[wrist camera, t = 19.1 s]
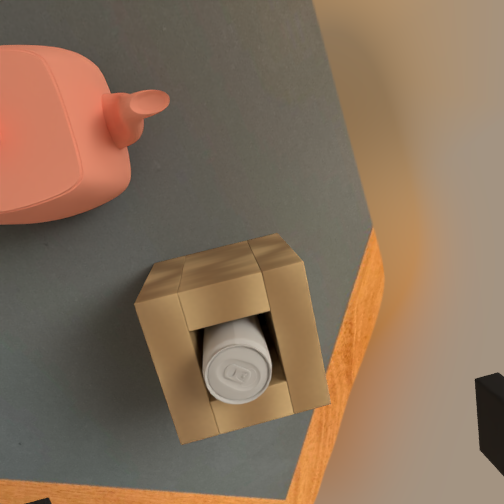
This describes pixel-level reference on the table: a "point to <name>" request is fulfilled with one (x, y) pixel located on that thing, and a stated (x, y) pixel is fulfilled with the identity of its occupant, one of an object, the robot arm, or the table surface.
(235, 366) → the beverage can
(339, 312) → the table surface
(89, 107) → the teapot
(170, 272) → the wooden box
